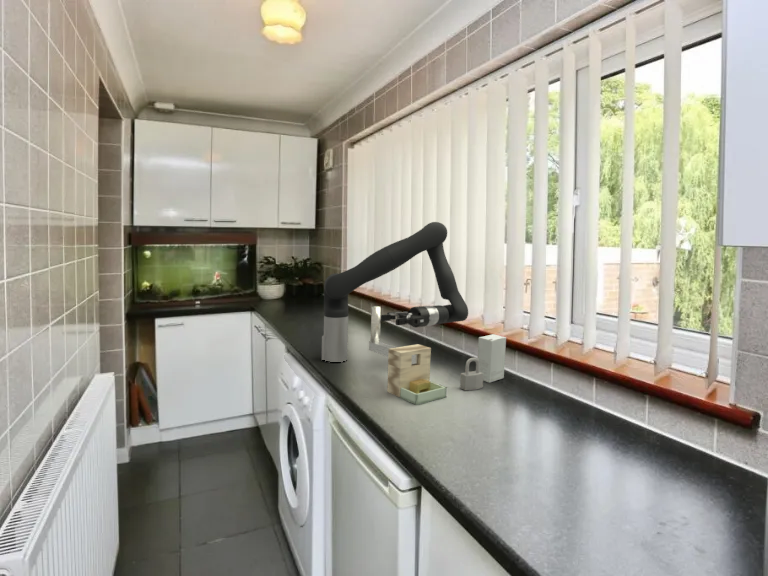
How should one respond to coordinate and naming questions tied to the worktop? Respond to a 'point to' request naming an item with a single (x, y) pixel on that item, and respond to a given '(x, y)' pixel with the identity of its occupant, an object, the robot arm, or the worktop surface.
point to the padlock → (471, 377)
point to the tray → (424, 394)
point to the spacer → (420, 386)
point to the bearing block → (407, 367)
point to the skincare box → (491, 357)
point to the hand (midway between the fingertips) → (388, 320)
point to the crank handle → (375, 336)
